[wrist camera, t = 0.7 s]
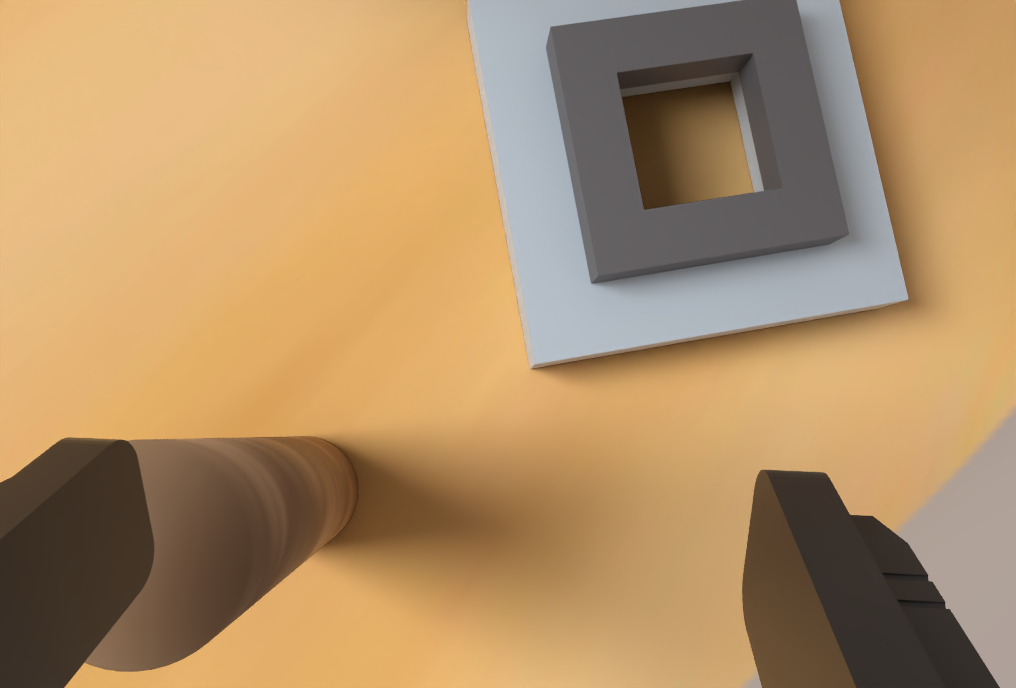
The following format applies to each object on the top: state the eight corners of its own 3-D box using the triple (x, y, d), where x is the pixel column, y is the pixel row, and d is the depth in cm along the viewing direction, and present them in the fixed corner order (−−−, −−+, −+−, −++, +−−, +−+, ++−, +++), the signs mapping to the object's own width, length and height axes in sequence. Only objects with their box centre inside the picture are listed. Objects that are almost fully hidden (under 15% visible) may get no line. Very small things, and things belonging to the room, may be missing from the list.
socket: (467, 20, 31) (468, -31, 28) (803, -25, 32) (845, -80, 29) (529, 368, 30) (539, 360, 26) (879, 308, 31) (933, 292, 27)
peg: (239, 446, 29) (7, 461, 14) (349, 427, 29) (236, 421, 14) (255, 557, 28) (33, 693, 14) (366, 536, 29) (267, 646, 14)
